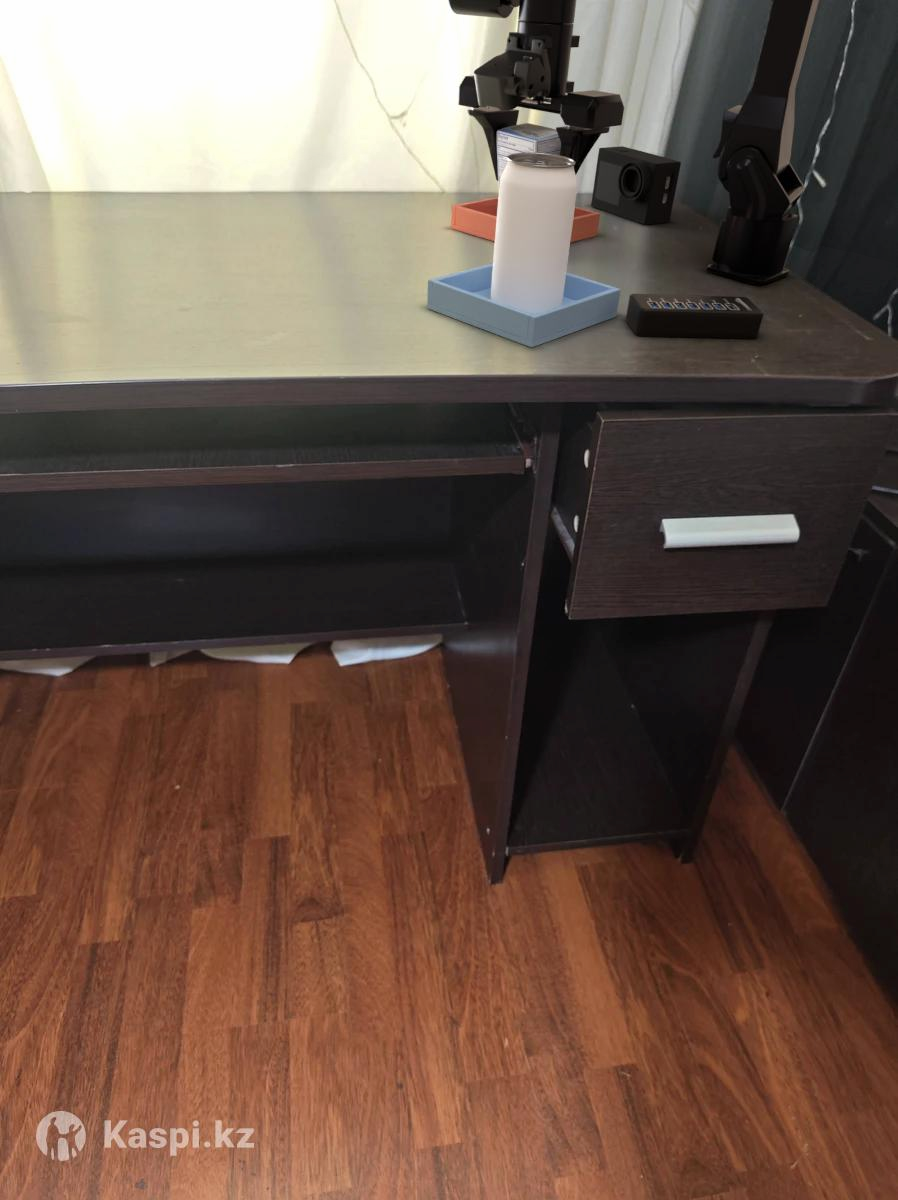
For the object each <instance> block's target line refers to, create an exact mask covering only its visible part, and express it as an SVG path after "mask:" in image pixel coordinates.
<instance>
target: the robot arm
mask: <svg viewBox="0 0 898 1200" xmlns="http://www.w3.org/2000/svg"><path fill="white" fill-rule="evenodd" d="M819 2H820V0H771V2H770V6H769V11H768V15H767V19H766V23H765V27H764V31H763V35H762V40H761V45H760V48H759V52H758V56H757V61H756V64H755V70H754V74H753V76H752V82H751V86H750V87H749V90H748V93H747V94H746V97H745V99H744V101H743V103H742V105H741V104H738V105H735V106H733V107H731V108H729V109H725V111H724V112H723V115H722V121H721V122H722V123H721V135H720V140H719V143H718V146H717V148H716V150H715V151H714V152H713V154H712V158H713V159H717V158H719V159H718V163H717V175H718V177H717V178H718V180H719V181H720V183H721V185H722V186H723V188H724V190H725V191H727V192H728V195H729V196H728V197H729V205H730V206H728V207H727V210H726V211H727V212H726V216H725V219H724V220H722V221H720V223H719V228H718V231H717V236H716V240H715V244H714V250H713V253H712V257H711V260H712V263H711V264H708V265H707V266H706V271H708V272H710V273H714V274H717V275H721V276H724V277H729V278H732V279H735V280H739V281H743V282H746V283H750V284H753V285H756V286H764V285H766V284H768V283H771V282H774V281H776V280H779V279H781V278H783V277H787V276H788V275H789V273H790V270H789V269H788V268H784V267H785V264H786V260H787V257H788V254H789V249H790V245H791V243H792V239H793V235H794V233H795V229H796V228H795V227H796V225H797V220H798V217H799V215H798V214H794V213H791V212H790V210H791V209H792V208H794V207H795V205H796V204H797V203H798V201H799V199H800V198H801V196H802V195H803V194H804V191H805V186H804V184H803V182H802V181H801V179H800V176H799V175H798V173H797V172H796V170H795V169H794V166H793V165H792V164H791V162H790V161H791V156H792V148H793V137H794V131H795V130H794V128H795V107H796V106H795V105H796V90H797V89H796V88H797V83H798V80H799V77H800V73H801V69H802V65H803V62H804V58H805V54H806V51H807V47H808V43H809V39H810V35H811V32H812V28H813V25H814V21H815V17H816V13H817V11H818V6H819ZM448 4H449V7H450V9H451V11H452V12H453V13H454V14H456V15H462V16H475V17H484V18H485V17H487V18H497V19H507V18H508V17H509V16H510V15H511V14H512V12H513V11H514V8H518V16H517V29H516V31H509V32H508V36H507V37H506V43H505V44H506V45H505V46H506V47H505V50H504V52H503V53H501V54H498V55H496V56H494V57H492V58H491V59H489V60H488V61H486V62H485V63H483V64H482V65H481V66H479V67H477V68H476V69H474V70H473V75H465V76H464V78H463V80H462V81H461V83H460V84H459V86H458V103H457V104H458V106H462V107H468V108H471V109H467V114H468V116H471V117H473V118H474V119H475V120H476V122H477V123H478V124H479V125H480V126H481V128H482V129H483V132H484V136H485V139H486V143H487V147H488V150H489V154H490V159H491V163H492V168H493V171H494V176H495V180H496V181H497V182H498V158H497V130H500V129H503V128H506V127H509V126H514V125H518V120H519V113H520V110H519V109H517V108H524V109H528V110H534V111H539V112H546V113H551V114H556V115H560V118H561V120H562V121H563V123H564V124H563V125H564V126H557V127H555V129H556V131H557V133H558V136H559V139H560V141H561V150H560V156H564V157H568V158H571V159H573V160H574V161H575V165H574V171H575V175H576V176H577V174H578V172H579V171H580V168H581V167H582V165H583V163H584V161H585V159H586V158H587V157H588V155H589V153H590V152H591V150H592V149H593V147H594V146H595V144H596V143H597V141H598V140H599V138H600V137H601V136H602V134H603V135H604V134H608V133H610V129H611V127H618V126H619V127H620V126H623V125H622V124H623V119H624V112H625V105H624V102H623V100H622V97H621V94H620V93H619V94H618V93H614V92H607V91H600V90H593V89H592V90H582V91H574V89H575V81H573V80H572V81H571V80H568V78H569V70H570V69H569V67H570V61H571V50H572V49H573V48H579V46H580V39H581V36H580V35H577V34H574V24H575V17H576V8H577V7H576V6H577V0H448Z"/></svg>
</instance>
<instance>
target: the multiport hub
mask: <svg viewBox="0 0 898 1200" xmlns="http://www.w3.org/2000/svg"><path fill="white" fill-rule="evenodd" d="M764 314H765V312H764V311H763V310H762V308H760V307H759V306H758V305H756V304H755V303H754V302H753V301H752V300H751V299H750V298H749V297H746V296H728V295H696V294H695V295H693V294H692V295H691V294H690V295H689V294H660V293H659V294H658V293H655V294H654V293H651V294H650V293H631V294H630V295H629V298H628V303H627V309H626V314H625V322H626V323H627V325H628V326H629V328H630V329H631V331H632V332H633V333H634V335H636V336H638V337H648V338H649V337H652V338H692V339H693V338H695V339H733V340H734V339H735V340H737V339H739V340H756V339H758V336H759V332H760V330H761V329H760V328H761V324H762V321H763V317H764Z"/></svg>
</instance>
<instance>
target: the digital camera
mask: <svg viewBox="0 0 898 1200" xmlns="http://www.w3.org/2000/svg"><path fill="white" fill-rule="evenodd" d="M597 153H598V154H597V162H596V168H595V174H594V182H593V189H592V196H591V202H590V206H591V207H594V208H595V209H599V210H600V211H601V210H602V211H603V212H608V213H609V214H613V215H615V216H619V217H622V218H624V219H626V220H627V219H628V220H630V221H633V222H636V223H639V224H642V225H645V226H648V225H655V224H663V223H669V222H670V221H671V216H672V210H673V206H674V201H675V195H676V191H677V186H678V180H679V177H680V176H679V175H680V171H681V165H682V162H681V161H678V160H675V159H671V158H668V157H665V156H661V155H657V154H654V153H650V152H647V151H642V150H639V149H634V148H632V147H627V146H623V145H621V146H607V147H599V148H598V152H597Z"/></svg>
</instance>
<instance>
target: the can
mask: <svg viewBox="0 0 898 1200" xmlns="http://www.w3.org/2000/svg"><path fill="white" fill-rule="evenodd" d="M507 160H508V162H507V165H506V167H505V169H504V171H503V173H502V175H501V178H500V186H498V196H497V197H498V208H497V220H496V232H495V242H494V244H493V245H494V246H493V258H492V263H493V270H492V283H491V300H494V301H497V302H500V303H503V304H506V305H508V306H511V307H514V308H517V309H520V310H523V311H525V312H528V313H531V314H533V315H534V314H537V313H540V312H543V311H546V310H549V309H552V308H555V307H558V306H561V305H562V299H563V292H564V285H565V278H566V272H567V270H568V262H569V255H570V247H571V243H570V241H571V233H572V226H573V218H574V210H575V207H576V202H577V194H578V193H577V192H578V178H577V174H576V175H575V171H574V165H575V161H574V160H573V159H571V158H568V157H564V156H560V155H554V154H546V153H515V154H510V155H508V156H507Z"/></svg>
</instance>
